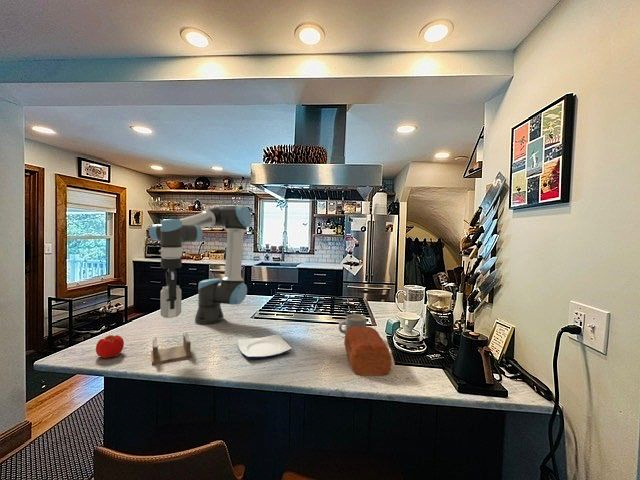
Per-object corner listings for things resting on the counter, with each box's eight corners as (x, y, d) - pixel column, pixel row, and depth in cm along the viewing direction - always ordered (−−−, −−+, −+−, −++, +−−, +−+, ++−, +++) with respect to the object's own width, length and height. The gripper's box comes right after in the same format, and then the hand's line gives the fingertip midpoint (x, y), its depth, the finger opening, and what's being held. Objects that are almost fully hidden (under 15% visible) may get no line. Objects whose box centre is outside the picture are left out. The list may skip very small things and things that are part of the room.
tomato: (103, 362, 113) (103, 343, 112) (91, 357, 117) (91, 338, 117) (129, 353, 121) (129, 335, 120) (117, 349, 125) (117, 331, 125)
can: (172, 319, 115) (172, 288, 115) (156, 317, 117) (156, 287, 116) (185, 313, 122) (185, 285, 122) (169, 312, 124) (169, 284, 123)
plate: (245, 364, 114) (245, 358, 114) (235, 345, 132) (235, 339, 132) (294, 355, 123) (294, 349, 123) (278, 338, 141) (278, 333, 141)
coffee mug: (365, 334, 149) (365, 314, 149) (366, 341, 139) (367, 320, 139) (338, 333, 150) (338, 313, 150) (338, 340, 140) (338, 319, 140)
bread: (377, 346, 134) (377, 323, 133) (393, 376, 107) (394, 347, 107) (342, 346, 133) (343, 323, 133) (351, 376, 107) (351, 347, 106)
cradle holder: (188, 346, 129) (188, 331, 129) (192, 357, 119) (192, 341, 118) (151, 353, 122) (151, 337, 121) (151, 365, 111) (151, 347, 111)
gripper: (159, 255, 125) (159, 309, 126) (162, 260, 108) (162, 322, 109) (179, 255, 129) (179, 307, 130) (184, 260, 112) (184, 319, 113)
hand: (171, 314), depth 119 cm, fingers closed on can, 7 cm apart
